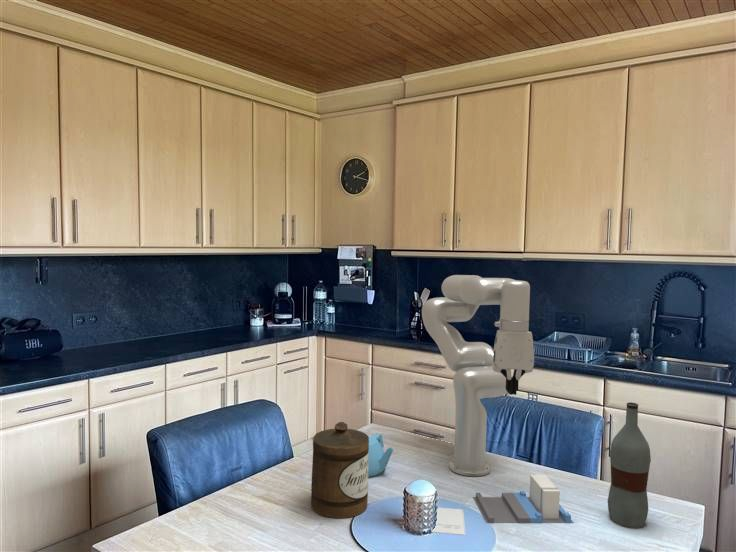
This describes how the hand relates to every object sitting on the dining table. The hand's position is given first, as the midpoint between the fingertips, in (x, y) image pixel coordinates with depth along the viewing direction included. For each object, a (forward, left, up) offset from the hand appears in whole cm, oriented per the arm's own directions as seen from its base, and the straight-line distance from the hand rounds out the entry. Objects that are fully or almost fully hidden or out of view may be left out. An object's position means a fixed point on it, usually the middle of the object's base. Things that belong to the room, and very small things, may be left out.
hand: (511, 393), depth 147 cm
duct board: (+8, +1, -29) cm, 30 cm away
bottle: (+12, +27, -29) cm, 42 cm away
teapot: (-19, -39, -29) cm, 52 cm away
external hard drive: (+14, -19, -30) cm, 38 cm away
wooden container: (+4, -46, -29) cm, 55 cm away
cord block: (+8, +7, -28) cm, 30 cm away
